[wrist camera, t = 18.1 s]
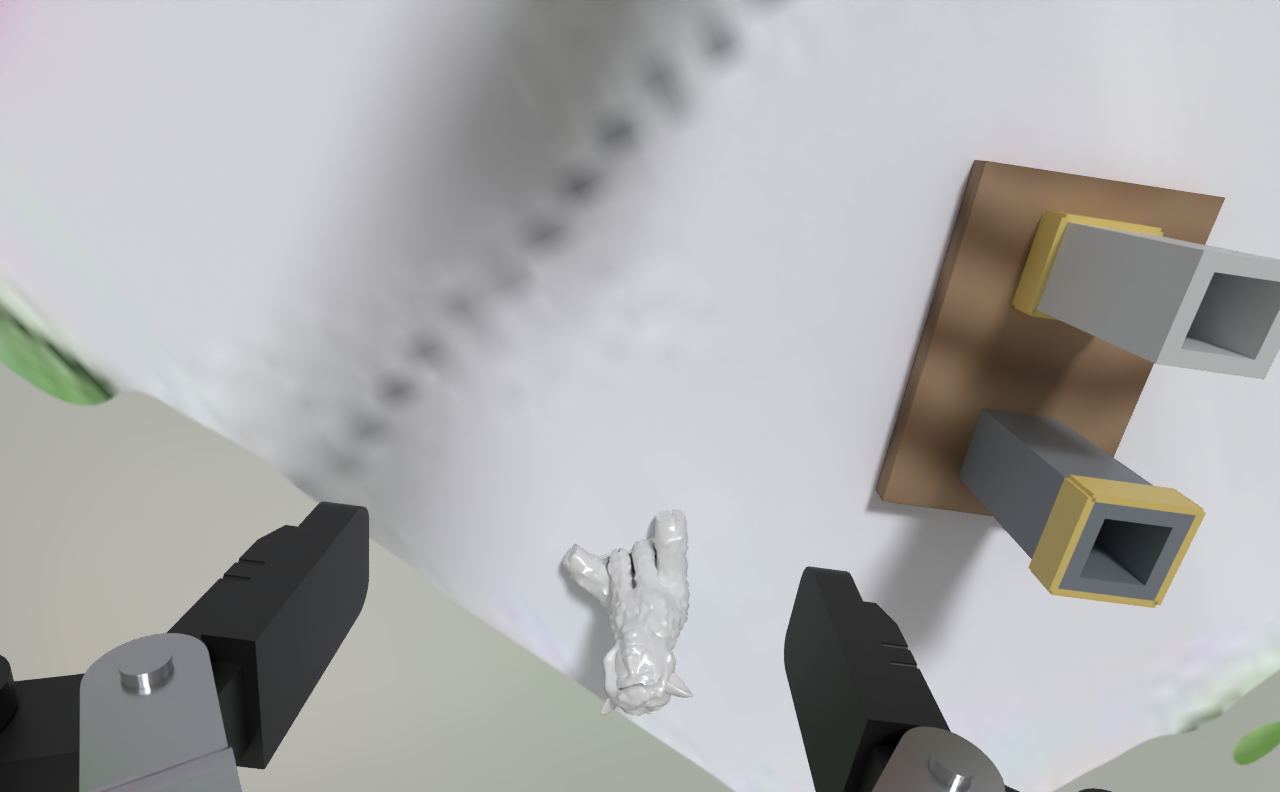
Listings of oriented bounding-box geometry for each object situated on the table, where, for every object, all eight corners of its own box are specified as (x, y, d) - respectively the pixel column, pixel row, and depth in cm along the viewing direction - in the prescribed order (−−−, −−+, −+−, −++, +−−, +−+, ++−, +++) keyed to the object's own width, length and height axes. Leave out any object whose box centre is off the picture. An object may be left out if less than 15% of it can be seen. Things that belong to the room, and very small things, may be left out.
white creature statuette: (680, 499, 48) (689, 609, 37) (726, 593, 51) (747, 721, 40) (560, 546, 50) (534, 665, 39) (611, 634, 53) (600, 769, 41)
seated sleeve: (1044, 209, 40) (1199, 238, 28) (1141, 224, 40) (1333, 259, 29) (1010, 307, 42) (1143, 370, 30) (1103, 320, 42) (1268, 389, 31)
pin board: (974, 160, 40) (1022, 163, 35) (1205, 195, 41) (1285, 204, 35) (876, 490, 48) (902, 533, 43) (1070, 516, 48) (1120, 562, 43)
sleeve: (977, 401, 44) (1090, 493, 33) (1065, 414, 44) (1207, 509, 33) (950, 481, 46) (1047, 594, 35) (1035, 493, 46) (1158, 608, 35)
